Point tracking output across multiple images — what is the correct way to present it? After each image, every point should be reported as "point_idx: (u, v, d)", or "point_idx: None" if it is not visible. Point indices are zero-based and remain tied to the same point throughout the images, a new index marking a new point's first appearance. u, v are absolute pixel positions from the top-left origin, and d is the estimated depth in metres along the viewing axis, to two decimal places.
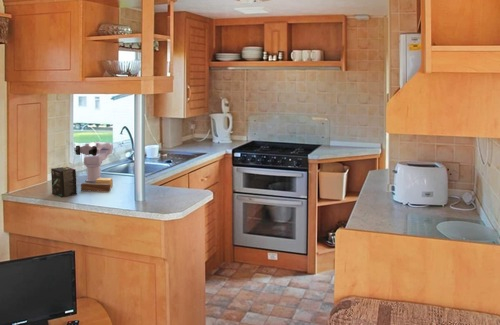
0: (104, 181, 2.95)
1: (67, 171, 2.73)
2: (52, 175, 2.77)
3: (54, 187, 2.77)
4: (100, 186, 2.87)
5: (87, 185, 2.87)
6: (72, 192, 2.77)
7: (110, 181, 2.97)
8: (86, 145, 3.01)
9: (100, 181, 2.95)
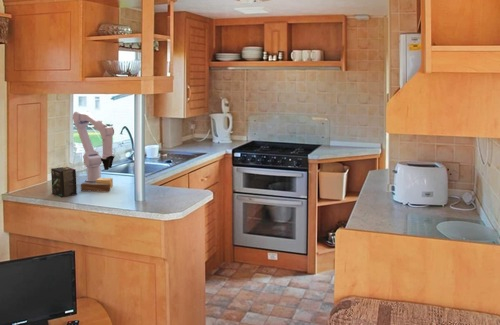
0: (104, 181, 2.95)
1: (67, 171, 2.73)
2: (52, 175, 2.77)
3: (54, 187, 2.77)
4: (100, 186, 2.87)
5: (87, 185, 2.87)
6: (72, 192, 2.77)
7: (110, 181, 2.97)
8: None
9: (100, 181, 2.95)
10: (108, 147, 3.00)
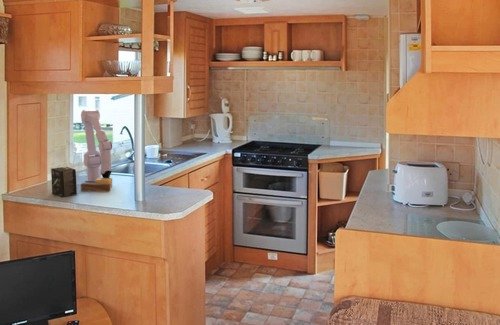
0: (103, 181, 2.94)
1: (67, 171, 2.73)
2: (52, 175, 2.77)
3: (54, 187, 2.77)
4: (100, 186, 2.87)
5: (87, 185, 2.87)
6: (72, 192, 2.77)
7: (109, 181, 2.96)
8: (110, 169, 3.01)
9: (100, 181, 2.94)
10: (106, 161, 2.98)
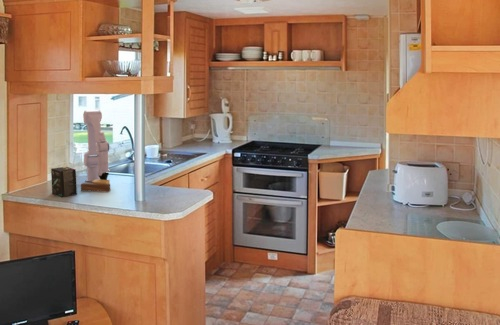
0: None
1: (67, 171, 2.73)
2: (52, 175, 2.77)
3: (54, 187, 2.77)
4: (100, 186, 2.87)
5: (87, 185, 2.87)
6: (72, 192, 2.77)
7: (106, 182, 2.91)
8: (107, 171, 2.96)
9: None
10: (104, 163, 2.93)
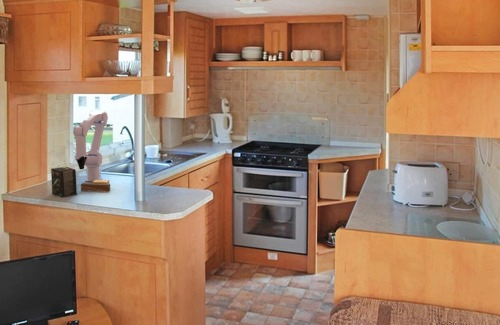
0: None
1: (67, 171, 2.73)
2: (52, 175, 2.77)
3: (54, 187, 2.77)
4: (100, 186, 2.87)
5: (87, 185, 2.87)
6: (72, 192, 2.77)
7: (107, 183, 2.92)
8: (85, 155, 2.98)
9: None
10: (81, 147, 2.95)
